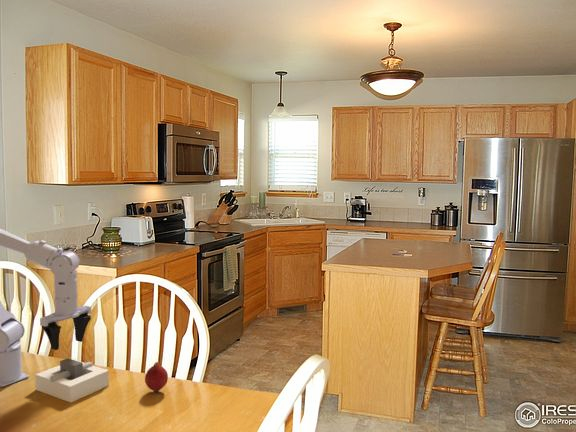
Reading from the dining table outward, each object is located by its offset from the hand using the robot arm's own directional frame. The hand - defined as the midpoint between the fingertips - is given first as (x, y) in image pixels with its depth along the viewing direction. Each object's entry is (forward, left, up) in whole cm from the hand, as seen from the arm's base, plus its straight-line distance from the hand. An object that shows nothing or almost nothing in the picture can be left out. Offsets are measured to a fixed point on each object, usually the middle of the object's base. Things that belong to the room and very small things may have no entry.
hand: (67, 344), depth 145 cm
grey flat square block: (+5, -3, -8) cm, 10 cm away
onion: (+26, +7, -10) cm, 29 cm away
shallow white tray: (+5, -3, -10) cm, 12 cm away
